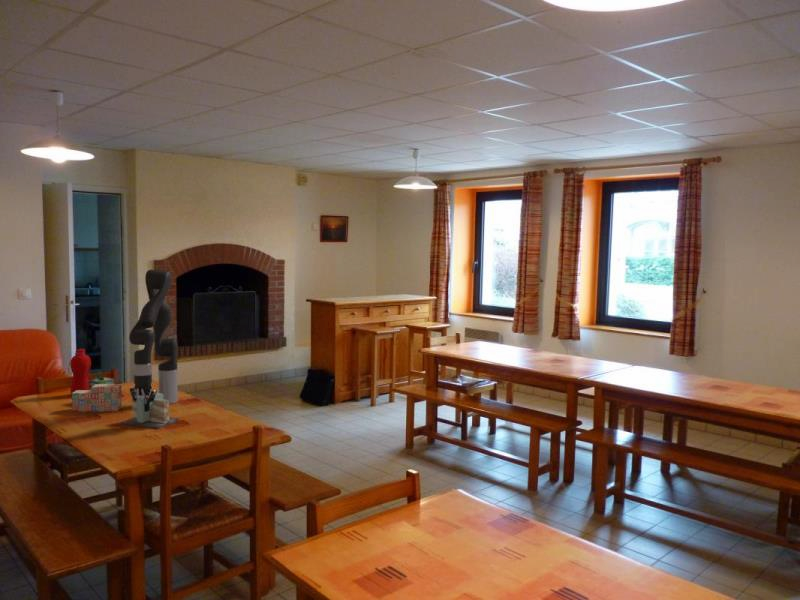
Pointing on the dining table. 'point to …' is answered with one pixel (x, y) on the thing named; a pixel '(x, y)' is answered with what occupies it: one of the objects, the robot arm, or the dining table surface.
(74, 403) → the stack of blocks
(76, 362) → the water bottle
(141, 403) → the sage crossbar
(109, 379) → the chalk box
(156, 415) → the stand
